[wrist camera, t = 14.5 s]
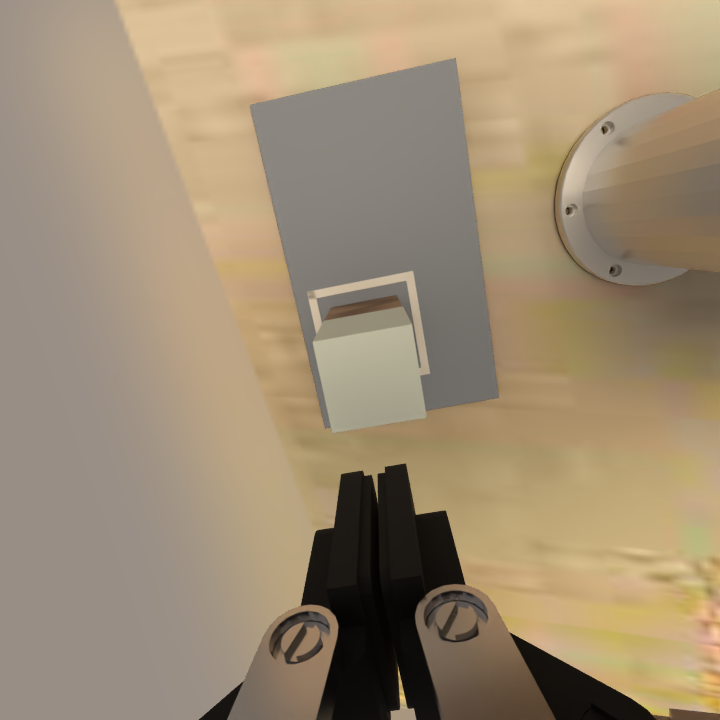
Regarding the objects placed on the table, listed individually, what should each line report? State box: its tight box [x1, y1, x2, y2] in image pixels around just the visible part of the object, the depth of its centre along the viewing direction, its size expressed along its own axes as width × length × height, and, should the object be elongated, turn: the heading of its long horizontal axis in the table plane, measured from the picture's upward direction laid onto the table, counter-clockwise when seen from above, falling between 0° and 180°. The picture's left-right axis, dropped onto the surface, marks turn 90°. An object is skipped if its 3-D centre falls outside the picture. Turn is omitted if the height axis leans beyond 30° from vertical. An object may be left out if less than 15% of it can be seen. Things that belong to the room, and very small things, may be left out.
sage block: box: [313, 306, 427, 433], centre depth 26 cm, size 5×5×6 cm
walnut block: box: [324, 295, 402, 321], centre depth 32 cm, size 5×5×6 cm
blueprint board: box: [250, 58, 499, 429], centre depth 34 cm, size 14×24×1 cm, turn 11°
